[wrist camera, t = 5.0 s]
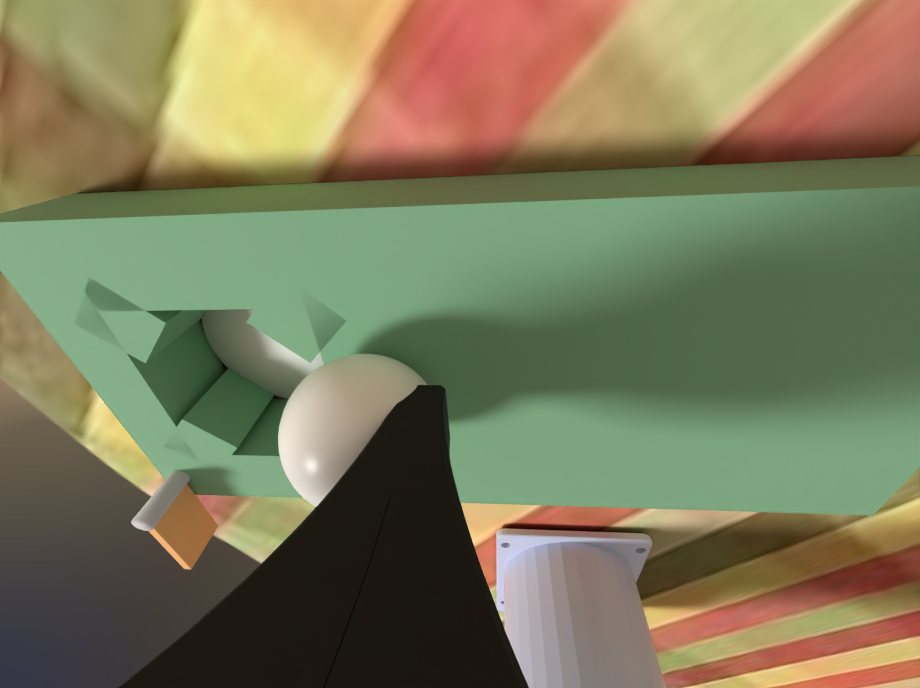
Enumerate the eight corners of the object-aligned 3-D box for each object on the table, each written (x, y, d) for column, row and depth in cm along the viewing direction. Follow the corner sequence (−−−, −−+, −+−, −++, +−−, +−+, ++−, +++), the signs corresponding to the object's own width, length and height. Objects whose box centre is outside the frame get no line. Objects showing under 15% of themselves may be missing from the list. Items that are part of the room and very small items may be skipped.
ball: (438, 417, 13) (487, 496, 9) (325, 476, 12) (330, 588, 8) (390, 311, 11) (427, 359, 8) (254, 373, 10) (224, 458, 7)
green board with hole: (791, 478, 17) (886, 606, 13) (236, 466, 19) (167, 570, 15) (1019, 150, 10) (1419, 204, 5) (74, 193, 12) (-149, 254, 8)
